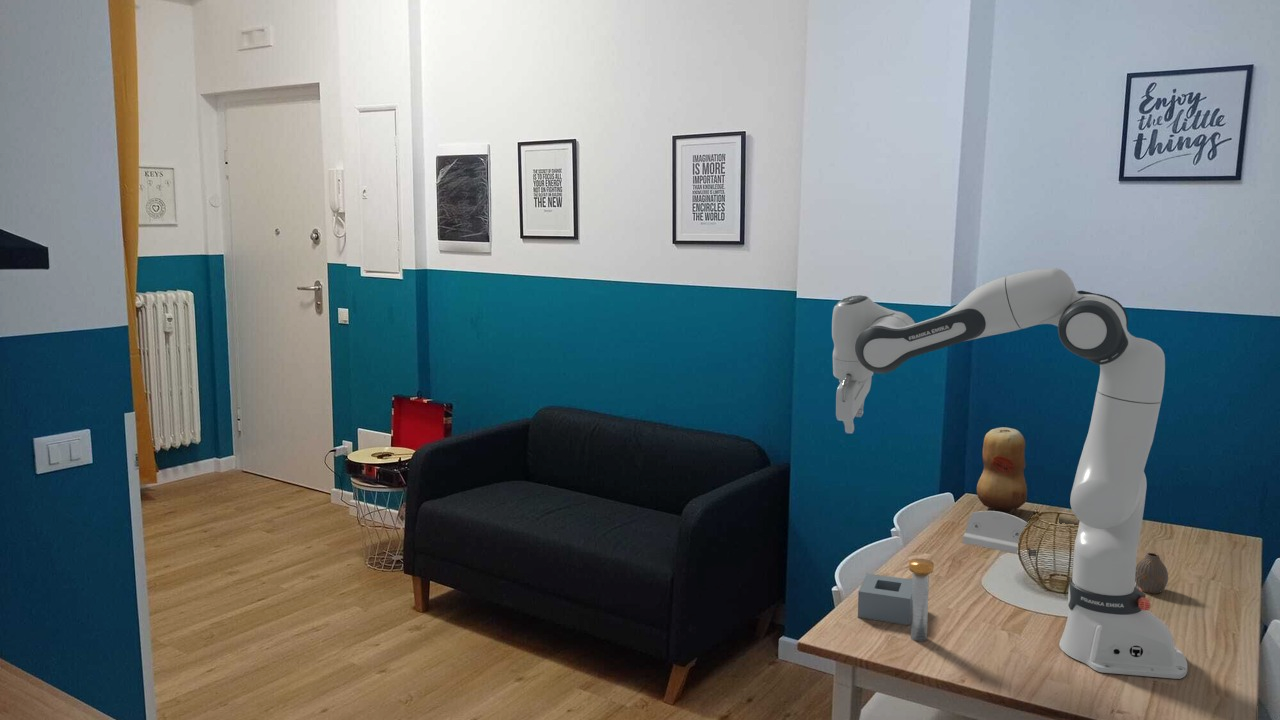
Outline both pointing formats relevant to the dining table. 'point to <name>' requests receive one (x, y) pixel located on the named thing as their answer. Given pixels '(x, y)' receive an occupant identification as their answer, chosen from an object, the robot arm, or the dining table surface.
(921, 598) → the lynch pin
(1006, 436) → the butternut squash
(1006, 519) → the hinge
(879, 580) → the hitch block
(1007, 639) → the dining table surface
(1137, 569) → the vase
